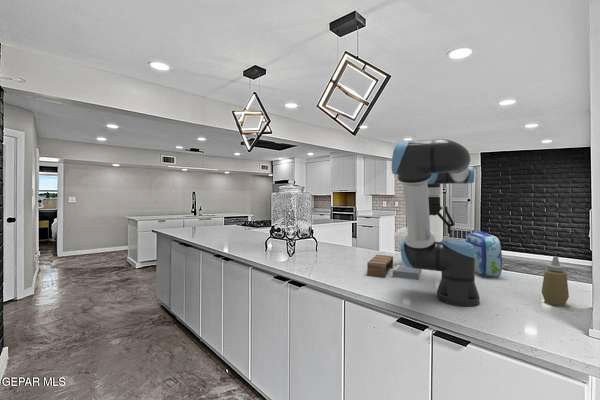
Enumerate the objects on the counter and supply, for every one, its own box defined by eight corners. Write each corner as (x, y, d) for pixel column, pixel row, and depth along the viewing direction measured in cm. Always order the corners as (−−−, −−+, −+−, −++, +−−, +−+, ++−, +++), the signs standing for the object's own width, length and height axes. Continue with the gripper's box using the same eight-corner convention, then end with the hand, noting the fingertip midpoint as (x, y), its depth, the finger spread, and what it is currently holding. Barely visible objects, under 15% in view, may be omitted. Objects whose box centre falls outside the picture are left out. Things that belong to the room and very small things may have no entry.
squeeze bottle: (539, 303, 119) (540, 256, 119) (543, 298, 125) (544, 253, 124) (567, 309, 113) (568, 259, 113) (570, 303, 119) (571, 256, 118)
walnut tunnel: (385, 277, 155) (385, 264, 155) (367, 275, 159) (367, 262, 159) (393, 267, 175) (393, 255, 175) (376, 266, 179) (376, 254, 179)
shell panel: (418, 280, 152) (418, 273, 152) (392, 277, 157) (392, 270, 157) (421, 273, 165) (421, 266, 165) (397, 270, 171) (397, 264, 171)
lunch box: (463, 266, 179) (463, 229, 178) (483, 267, 177) (484, 229, 176) (479, 278, 153) (480, 235, 153) (503, 279, 151) (504, 236, 151)
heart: (414, 270, 169) (414, 229, 169) (389, 265, 181) (389, 226, 180) (438, 262, 188) (438, 225, 187) (414, 258, 199) (414, 223, 199)
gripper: (460, 196, 153) (459, 239, 154) (406, 196, 164) (406, 236, 165) (460, 196, 146) (460, 242, 147) (404, 196, 158) (404, 238, 158)
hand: (431, 239), depth 156 cm, fingers open, 13 cm apart
